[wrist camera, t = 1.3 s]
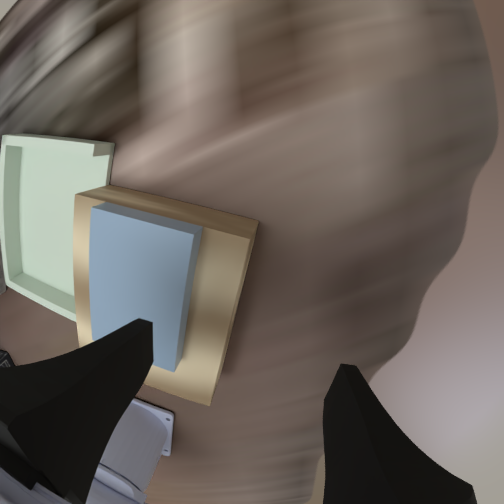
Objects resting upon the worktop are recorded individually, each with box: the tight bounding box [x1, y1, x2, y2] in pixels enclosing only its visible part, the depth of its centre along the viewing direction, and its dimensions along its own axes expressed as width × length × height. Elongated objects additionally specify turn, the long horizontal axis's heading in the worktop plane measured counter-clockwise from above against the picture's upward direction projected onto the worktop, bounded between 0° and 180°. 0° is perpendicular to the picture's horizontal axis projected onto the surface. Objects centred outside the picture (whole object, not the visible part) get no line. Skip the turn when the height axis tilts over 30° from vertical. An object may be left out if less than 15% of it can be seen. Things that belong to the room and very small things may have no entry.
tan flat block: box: [73, 185, 259, 406], centre depth 20 cm, size 13×11×4 cm
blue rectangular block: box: [89, 202, 203, 372], centre depth 16 cm, size 9×6×2 cm, turn 167°
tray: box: [0, 133, 115, 322], centre depth 20 cm, size 14×11×2 cm
